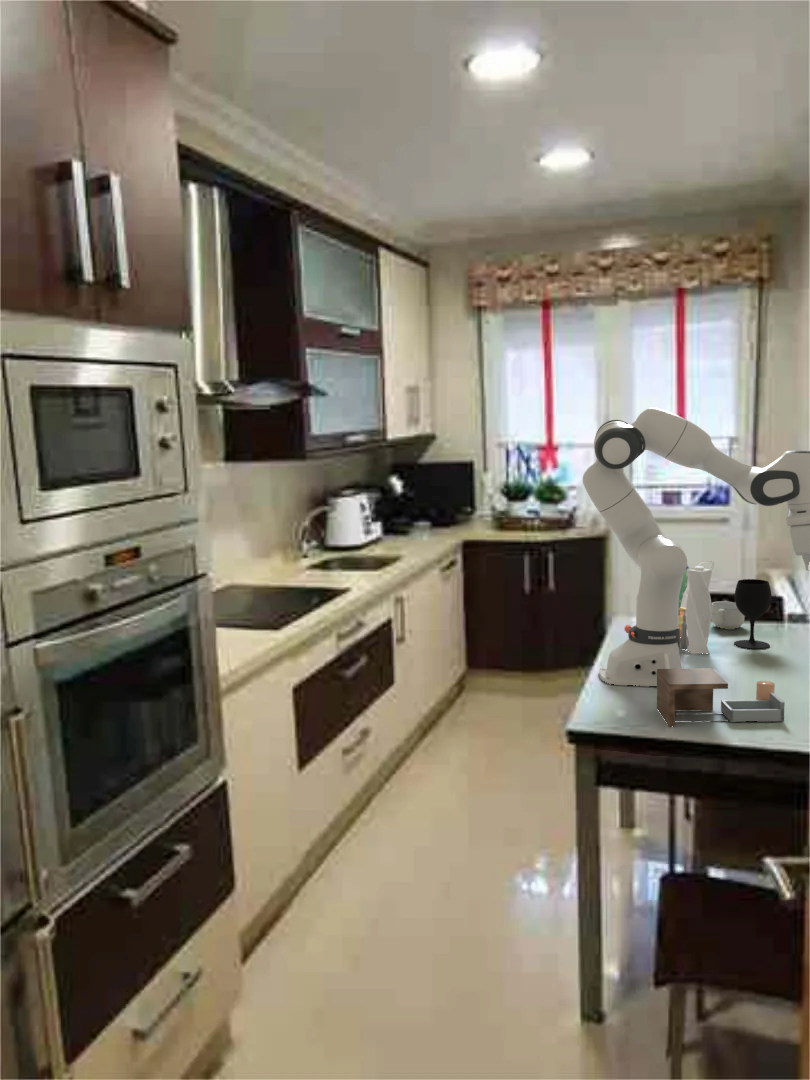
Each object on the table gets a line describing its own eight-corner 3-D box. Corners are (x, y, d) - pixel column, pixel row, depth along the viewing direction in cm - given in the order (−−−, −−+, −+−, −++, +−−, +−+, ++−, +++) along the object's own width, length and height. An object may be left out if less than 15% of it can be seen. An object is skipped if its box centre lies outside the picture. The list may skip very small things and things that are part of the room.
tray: (730, 721, 190) (730, 702, 189) (721, 711, 197) (721, 693, 196) (784, 721, 189) (784, 702, 188) (772, 710, 196) (773, 692, 195)
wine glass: (775, 649, 248) (777, 584, 246) (741, 650, 249) (742, 585, 246) (761, 640, 259) (763, 578, 256) (728, 641, 259) (729, 579, 256)
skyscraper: (708, 648, 253) (709, 558, 249) (715, 656, 245) (717, 563, 241) (680, 649, 253) (681, 559, 250) (686, 656, 245) (687, 563, 242)
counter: (669, 727, 188) (669, 684, 187) (656, 709, 200) (657, 668, 199) (788, 726, 187) (789, 682, 185) (768, 708, 198) (769, 667, 197)
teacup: (721, 622, 284) (722, 599, 283) (751, 627, 276) (752, 603, 275) (699, 629, 275) (699, 606, 274) (730, 634, 267) (730, 610, 266)
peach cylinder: (759, 710, 198) (760, 685, 197) (753, 704, 202) (754, 680, 201) (776, 709, 197) (777, 685, 197) (770, 704, 201) (771, 680, 200)
